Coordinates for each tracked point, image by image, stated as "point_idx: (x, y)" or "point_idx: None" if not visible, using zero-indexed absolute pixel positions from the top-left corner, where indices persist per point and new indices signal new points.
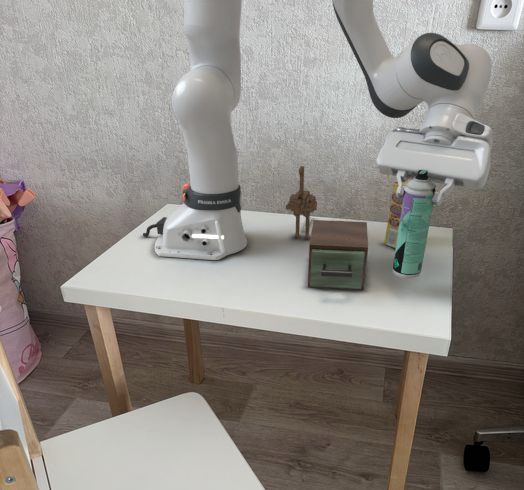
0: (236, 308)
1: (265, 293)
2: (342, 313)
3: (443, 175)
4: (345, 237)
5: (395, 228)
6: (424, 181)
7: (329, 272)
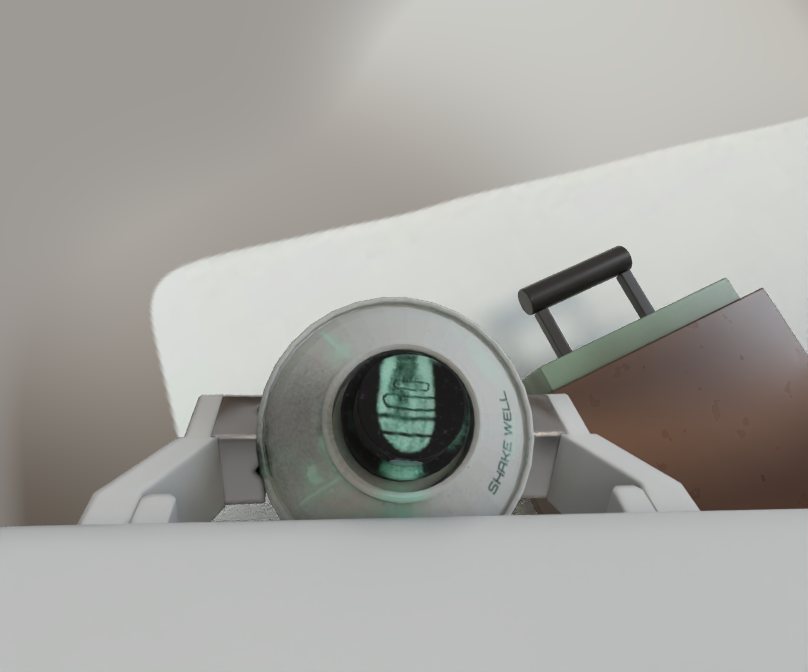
0: (734, 134)
1: (733, 243)
2: (475, 252)
3: (190, 523)
4: (692, 445)
5: None
6: (351, 357)
7: (596, 256)
